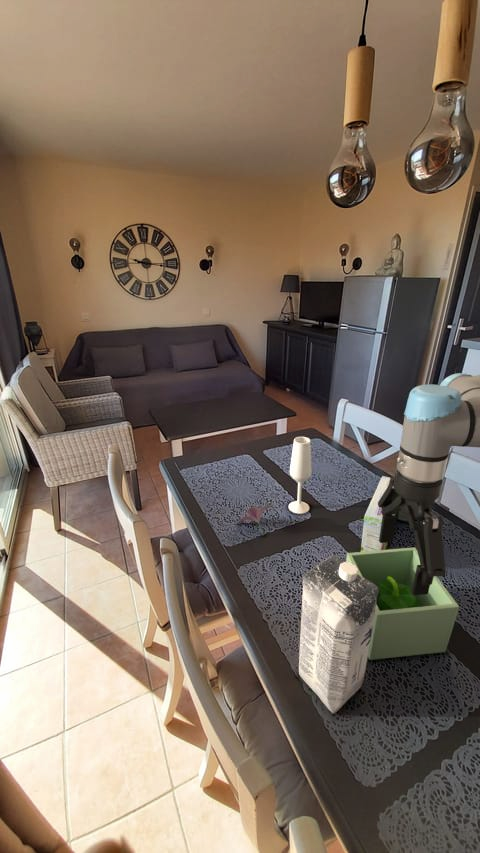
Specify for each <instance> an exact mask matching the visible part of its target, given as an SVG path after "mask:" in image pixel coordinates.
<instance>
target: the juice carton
mask: <svg viewBox="0 0 480 853" xmlns="http://www.w3.org/2000/svg"><path fill="white" fill-rule="evenodd" d="M357 573H358V569H357V568H356V566H355V565H353V564H352V563H350V562H349V563H348V562H346V561H343V560H342V559H341V558H339V557H338V556H337V555H335V554H332V555H330V556H328V557H327V558H326V559H324V560H323V561H322V562H321V563H319V564H318V565H316V566H315V567H313V568H311V569H310V570H308V571H306V572H304V573H302V599H301V600H302V601H301V613H300V614H301V615H300V633H299V634H300V636H299V649H298V650H299V652H298V675H299V676H300V678H301V679H302V680H303V681H304V682H305V684H306V685H307V686H308V687H309V688H310V689H311V690H312V691H313V692H314V693H315V694H316V696H317V697H318V699H320V701H321V702H322V703H323V704H324V706H325V707H326V708H327V709H328V710H329V711H330V713H331V714H332V715H333V714H336V713H337V712H338V711H340V709H341V708H342V707H343V706H344V705H345V704H346V703H347V702H348V700H349V699H351V698H352V697H353V696H354V695H355V694H356V693H357V692H358V691H359V690H360V689H361V688H362V686H363V685H364V684H363V683H364V680H365V675H366V674H365V673H366V667H367V662H368V651H369V646H370V640H371V634H372V628H373V622H374V616H375V609H376V601H377V596H378V587H377V586H376V585H375V584H373V583H372V582H370V581H368V580H367V579H365V578H363V577H362V576H360V575H358V574H357Z"/></svg>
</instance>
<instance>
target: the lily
mask: <svg viewBox="0 0 480 853" xmlns="http://www.w3.org/2000/svg"><path fill="white" fill-rule="evenodd" d="M271 507H274V504H271V503H269V504H266V505H264V506H262V507H260V508H259V507H258V506H252V507H250V508H248V509H247V510H246V513H245V516H243V517H241V518H239V519H238V520H236V523H237V522H238V523H237V524H238V525H239V524H241V523H243V522H244V521H247V520H248V521H253V522H256V523H258V526H259V529H260V531H261V534H262V536H264V531H263V529H262V526H261V523H260V520H261V518H262V516H263V515H264V514H263V513H264V512H265V510H268V509H269V508H271Z"/></svg>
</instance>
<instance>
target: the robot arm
mask: <svg viewBox="0 0 480 853" xmlns="http://www.w3.org/2000/svg"><path fill="white" fill-rule="evenodd" d="M403 415H404V416H403V424H402V431H401V439H400V444H399V445H400V446H399V451H398V456H397V458H396V468H397V470H396V469H395V472H394V477H389V478H390V481H389V486H388V487H387V489H386V490H385V492H384V494H383V495H382V497H381V498H380V500H379V501H378V506H379V507H381V508H382V510H381V513H382V515H383V516H382V523H381V530H380V536H379V542H380V543H387V544H388V543H393V541H394V536H395V530H396V524H397V517H396V516H395V515H394V516H392V514H398V513H397V512H399V511H401V512H402V513H403V514H404V515H405V516H406V517H407V519H408V521H409V522H408V524H409V529H410V530H412V532H413V536H414V541H415V545H416V546H415V547H416V550H417V551H418V556H419V560H420V565H417V568H416V573H415V577H414V582H413V587H412V591H411V592H412V594H413V595H424V594H428V591H429V587H430V585H431V584H432V582H433V578H434V576H437V577H443V576H446V575H447V574H446V573H447V572H446V563H445V561H446V560H445V552H444V541H443V525H444V518H442V516H435V515H434V514H433V513H432V504H433V503H434V502H435V501H437V500H438V498H440V494H441V489H442V485H443V478H444V477H445V474H446V469H447V464H448V459H449V456H450V451H451V448H452V447H461V448H462V447H465V448H466V447H467V448H480V374H476V375H472V374H467V373H461V372H458V373H454V374H450V375H449V376H447V377H445V378H444V379H443V380H442V381H441V383H440V384H432V383H431V384H430V383H429V384H428V383H427V384H421V385H417V386H415V387H413V388H412V389H411V390H410V392H409V394H408V398H407V402H406V405H405V410H404V412H403ZM398 496H399V497H398ZM397 497H398V498H397ZM396 498H397V499H396ZM416 523H422V524H416ZM426 563H427V564H426Z"/></svg>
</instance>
